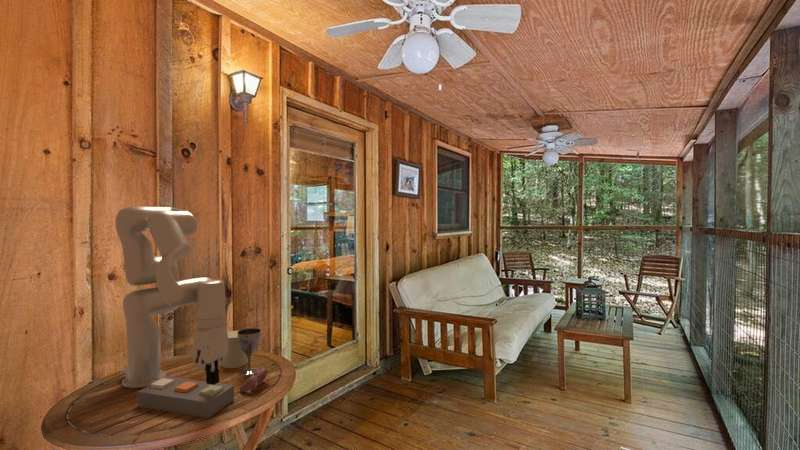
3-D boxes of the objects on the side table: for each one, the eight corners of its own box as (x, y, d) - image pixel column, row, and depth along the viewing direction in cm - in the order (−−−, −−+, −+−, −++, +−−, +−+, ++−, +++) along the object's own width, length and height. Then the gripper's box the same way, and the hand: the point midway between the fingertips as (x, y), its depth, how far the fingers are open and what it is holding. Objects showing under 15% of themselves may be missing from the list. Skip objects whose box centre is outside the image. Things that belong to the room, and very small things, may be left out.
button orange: (174, 397, 116) (174, 387, 116) (186, 390, 120) (186, 381, 120) (187, 399, 115) (187, 389, 114) (198, 392, 119) (198, 383, 119)
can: (242, 368, 143) (242, 336, 143) (217, 368, 143) (217, 336, 143) (251, 359, 153) (251, 329, 152) (227, 359, 152) (227, 329, 152)
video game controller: (248, 398, 124) (257, 380, 123) (237, 391, 124) (245, 373, 123) (265, 385, 133) (273, 368, 132) (254, 378, 134) (262, 361, 133)
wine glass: (237, 377, 135) (237, 335, 135) (237, 369, 143) (237, 329, 142) (261, 374, 139) (261, 333, 138) (260, 366, 146) (260, 326, 145)
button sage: (200, 401, 113) (200, 391, 113) (210, 394, 118) (210, 384, 118) (212, 403, 112) (212, 393, 112) (223, 396, 117) (223, 386, 117)
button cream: (150, 393, 118) (150, 384, 118) (162, 387, 122) (162, 378, 122) (162, 395, 117) (162, 385, 117) (174, 389, 121) (174, 379, 121)
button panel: (137, 406, 115) (137, 391, 115) (168, 389, 126) (168, 376, 126) (208, 418, 109) (208, 402, 109) (234, 399, 120) (234, 385, 119)
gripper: (218, 315, 122) (219, 372, 123) (181, 328, 108) (182, 393, 108) (238, 316, 120) (239, 374, 121) (203, 330, 106) (204, 395, 106)
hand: (212, 383), depth 115 cm, fingers closed
